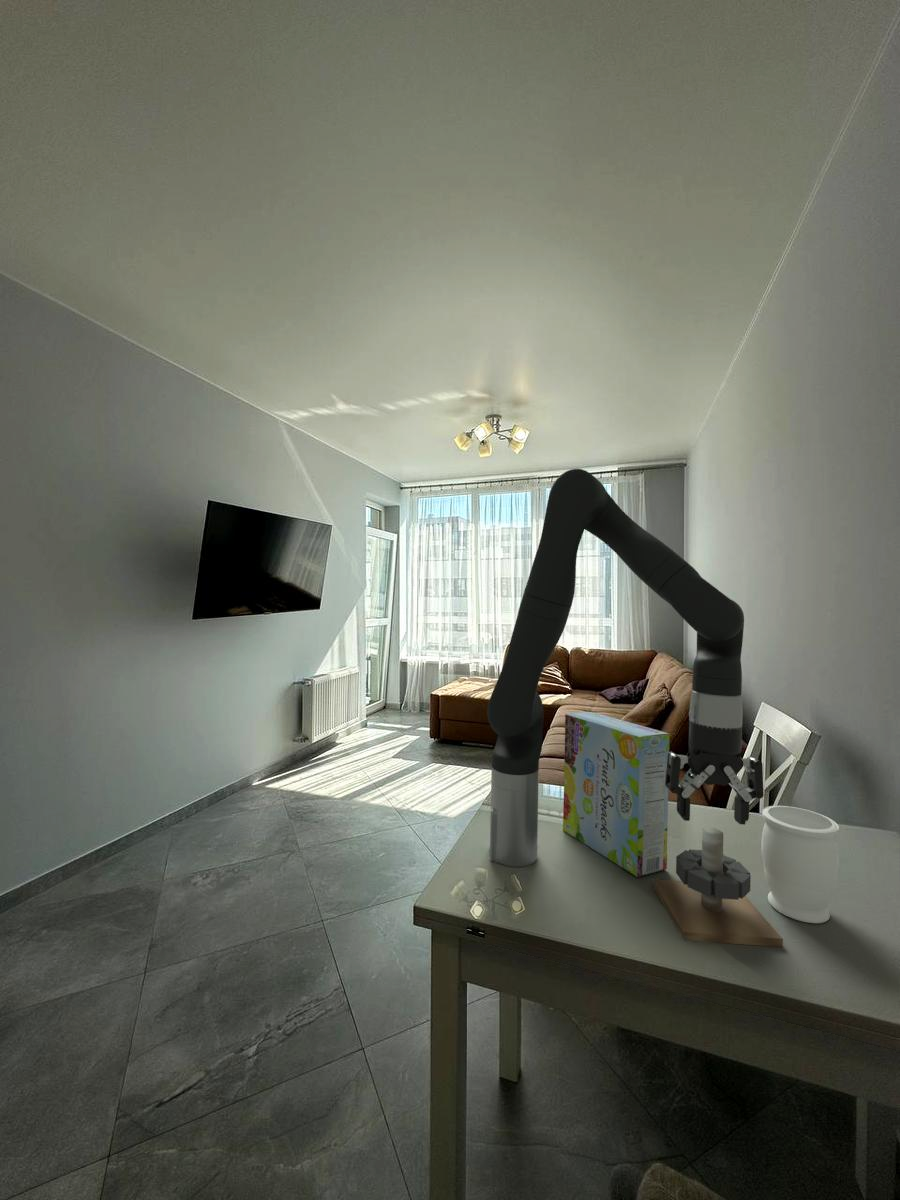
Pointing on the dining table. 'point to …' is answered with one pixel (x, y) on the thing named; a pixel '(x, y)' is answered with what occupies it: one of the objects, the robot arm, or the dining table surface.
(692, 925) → the post base
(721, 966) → the dining table surface
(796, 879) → the jar
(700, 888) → the ring
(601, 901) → the dining table surface
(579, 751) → the snack box
